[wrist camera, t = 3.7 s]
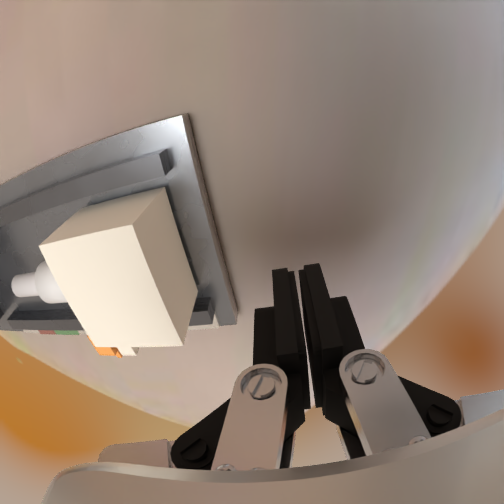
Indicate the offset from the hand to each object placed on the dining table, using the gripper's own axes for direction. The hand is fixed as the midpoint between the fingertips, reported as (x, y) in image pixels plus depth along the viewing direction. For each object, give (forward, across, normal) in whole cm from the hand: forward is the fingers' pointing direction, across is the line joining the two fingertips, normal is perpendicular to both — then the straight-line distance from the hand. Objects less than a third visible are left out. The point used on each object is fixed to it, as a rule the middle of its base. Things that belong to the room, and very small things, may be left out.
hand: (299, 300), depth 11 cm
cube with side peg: (+4, +11, 0) cm, 12 cm away
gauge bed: (+6, +16, -1) cm, 17 cm away
